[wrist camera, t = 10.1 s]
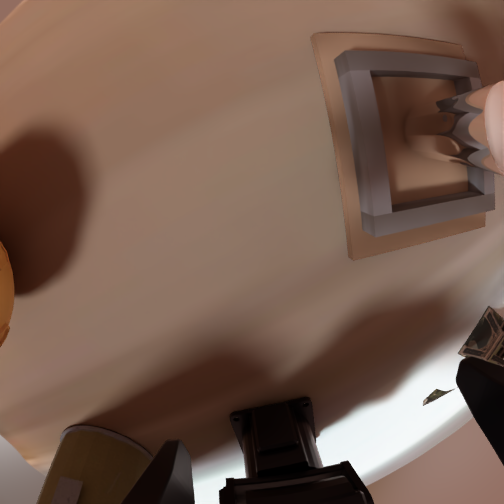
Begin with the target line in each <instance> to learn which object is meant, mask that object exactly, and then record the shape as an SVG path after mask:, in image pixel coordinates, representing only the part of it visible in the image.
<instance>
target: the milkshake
mask: <svg viewBox="0 0 504 504" xmlns="http://www.w3.org/2000/svg"><path fill="white" fill-rule="evenodd" d="M404 136H405V138H406V140H407V142H408V144H409V146H410V148H411V150H413V151H414V152H416V153H418V154H420V155H421V156H423V157H427V158H432V159H437V160H442V161H446V162H451V163H456V164H460V165H465V166H469V167H474V168H477V169H481V170H484V171H488V172H491V173H494V174H497V175H501V176H504V81H500V82H497V83H494V84H490V85H487V86H484V87H481V88H478V89H474V90H471V91H468V92H465V93H462V94H459V95H456V96H453V97H449V98H446V99H443V100H439V101H436V102H433V103H429V104H426V105H423V106H420V107H417V108H414V109H412V110H411V111H410V113H409V114H408V116H407V117H406V118H405V120H404Z"/></svg>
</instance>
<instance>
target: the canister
mask: <svg viewBox="0 0 504 504" xmlns="http://www.w3.org/2000/svg"><path fill="white" fill-rule="evenodd" d="M60 442H61V443H60V445H59V447H58V450H57V452H56V454H55V457H54V459H53V462H52V464H51V467H50V469H49V472H48V474H47V477H46V479H45V482H44V485H43V487H42V490H41V492H40V495H39V498H38V501H37V503H36V504H120V503H121V502H122V501H123V499H124V498H125V497H126V495H127V494H128V493H129V491H130V490H131V488H132V487H133V486H134V484H135V483H136V482H137V480H138V479H139V477H140V476H141V475H142V473H143V472H144V471H145V469H146V468H147V466H148V465H149V464H150V462H151V461H152V459H153V457H152V456H151V455H150V454H149V453H148V452H147V451H146V450H145V449H144V448H143V447H141V446H140V445H138V444H136V443H135V442H133V441H132V440H130V439H129V438H127V437H124V436H122V435H120V434H117V433H115V432H112V431H109V430H106V429H103V428H99V427H94V426H73V427H70V428H67V429H66V430H65V431H63V432H62V435H61V438H60Z"/></svg>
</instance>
